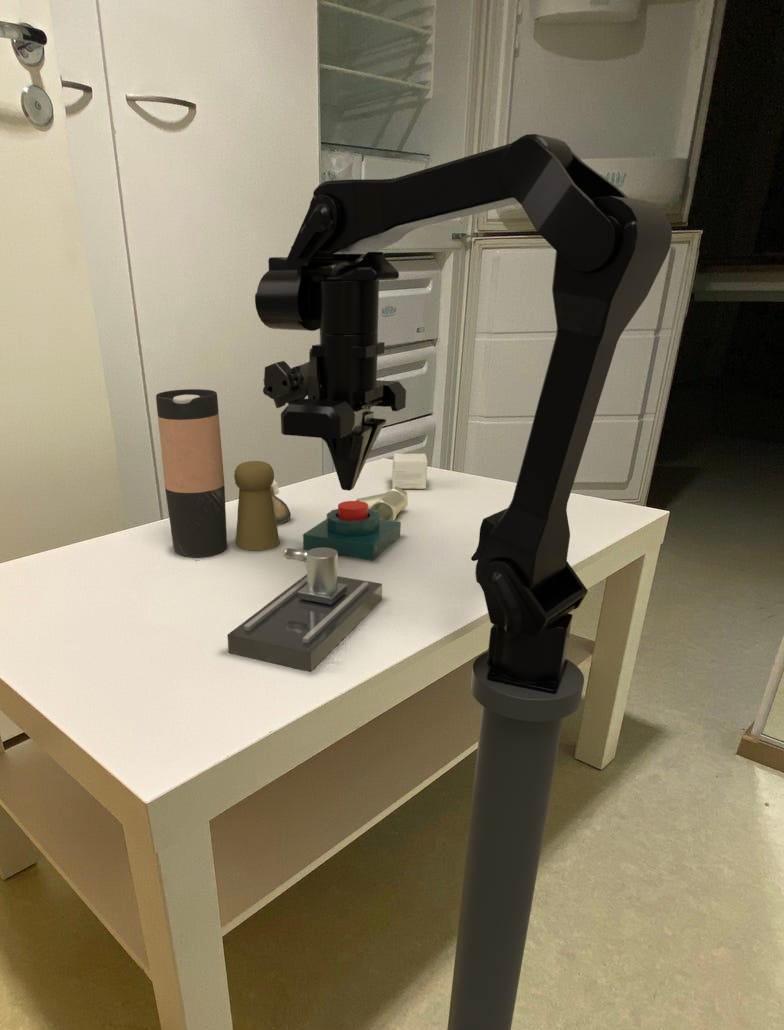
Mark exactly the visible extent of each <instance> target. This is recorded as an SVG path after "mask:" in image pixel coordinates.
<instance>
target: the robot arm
mask: <svg viewBox="0 0 784 1030" xmlns="http://www.w3.org/2000/svg"><path fill="white" fill-rule="evenodd" d="M312 195H313V196H312V198H311V200H310V203H309V206H308V210H307V212H306V214H305V216H304V219H303V221H302V223H301V225H300V228H299V230H298V232H297V235H296V237H295V239H294V242H293V244H292V245H291V247H290V250H289V252H288V255H287V256H273V257H272V256H271V257H269V258H268V259H267V260H268V261H267V262H268V271H266V272H265V273H264V274H263V275H262V277H261V278H260V280H259V283H258V285H257V291H256V293H255V294H254V304H255V309H256V312H257V316H258V318H259V319H260V321H261V323H262V324H263V325H264V326H265V327H267V328H269V329H272V330H285V331H307V332H315V331H318V330H319V343H318V344H312V345H311V348H309V353H308V355H309V359H308V360H309V361H307V362H305V363H302V364H300V365H296V366H293V367H292V368H291V367H290V365H289V364H288V363H287V362H286V361H285V360H282V361H277V362H274V363H271V364H269V365H267V366H265V367H264V375H263V376H264V378H263V388H262V392H263V394H264V395H265V396H267V397H268V398H270V399H272V400H273V403H274V406H275V408H276V409H280V408H282V407H284V409H283V410H282V411H281V413H280V433H281V434H282V435H284V436H292V437H303V438H305V437H307V438H316V439H317V438H318V439H322V440H323V441H324V442H325V444H326V445H327V449H328V452H329V454H330V457H331V460H332V462H333V463H332V464H333V465H334V470H335V473H336V475H337V479H338V483H339V486H340V488H341V490H342V491H347V492H348V491H349V492H350V491H352V490H353V489H354V488H355V486H356V484H357V482H358V480H359V479H360V475H361V473H362V471H363V468H364V467H365V464H366V462H367V460H368V458H369V456H370V454H371V451H372V449H373V447H374V445H375V443H376V441H377V439H378V437H379V435H380V432H381V431H382V429H383V427H384V426H385V425H386V423H387V419H385V418H378V417H377V418H376V417H375V412H374V411H371V408H373V407H381V408H383V407H385V408H386V407H387V408H388V407H390V408H391V411H392V412H400V411H401V410H403V409H405V408H406V403H407V390H406V388H405V387H404V386H403V384H402V383H401V382H400V381H399V380H381V379H380V380H378V356H379V355H382V354H383V355H384V354H385V342H384V341H379V304H380V303H379V299H380V281H395V280H398V279H399V277H400V272H399V271H398V270H397V268H396V267H394V266H393V265H392V263H390V262H389V261H388V259H387V258H386V256H385V254H384V252H383V251H381V250H384V249H386V248H387V247H389V246H392V245H394V244H397V243H398V242H399V241H401V240H402V239H403V238H404V237H406V235H408V234H409V233H411V232H413V231H415V230H417V229H419V228H422V227H427V226H430V225H434V224H435V225H436V224H439V223H444V222H447V221H451V220H455V219H459V218H465V217H468V216H471V215H477V214H480V213H484V212H489V211H493V210H497V209H502V208H505V207H510V206H514V205H519V204H520V205H521V207H522V209H523V210H524V212H525V214H526V215H527V218H528V219H529V220H530V222H531V224H532V226H533V227H534V230H536V232H537V233H538V234H539V235H540V236H541V237H542V238H543V239H544V240H545V241H546V242H547V243H548V244H549V245H550V246H551V247H552V248H553V249H554V250H555V257H554V264H553V265H554V266H553V275H552V285H551V293H552V301H553V308H554V315H555V322H556V332H555V338H554V342H553V346H552V348H551V353H550V357H549V361H548V365H547V368H546V371H545V375H544V380H543V383H542V387H541V391H540V394H539V398H538V402H537V406H536V409H535V413H534V417H533V421H532V423H531V428H530V431H529V435H528V439H527V442H526V446H525V450H524V454H523V457H522V462H521V466H520V469H519V473H518V477H517V481H516V485H515V489H514V492H513V496H512V499H511V500H510V501H511V502H510V503H509V505H508V506H507V508H504V509H502V510H500V511H498V512H495V513H493V514H491V515H488V516H486V517H484V518H483V519H482V521H481V524H480V527H479V536H478V544H477V547H476V549H475V552H474V553H473V554H472V556H471V557H470V561H472V562H475V561H477V562H476V564H475V573H474V575H475V582H476V583H477V584H479V586H480V588H481V590H482V592H483V596H484V601H485V604H486V605H485V606H486V608H487V614H488V618H489V621H490V622H489V623H490V624H492V626H491V628H490V631H489V641H488V649H487V652H488V658H487V664H488V666H491V668H490V670H489V672H488V674H487V679H488V680H489V681H493V682H498V683H503V684H507V685H512V686H517V687H522V688H526V689H531V690H536V691H540V692H545V693H550V694H556V693H557V691H558V689H559V686H560V683H561V681H562V678H563V675H564V673H565V670H566V667H567V663H568V662H567V660H565V658H566V659H567V651H568V645H569V639H570V634H571V628H572V627H571V626H572V620H573V614H572V613H571V612H572V611H574V610H577V609H578V608H579V607H580V606H581V604H582V603H583V601H584V599H585V598H586V597H587V594H588V592H589V591H588V588H587V587H586V585H584V583H583V581H582V580H581V579H580V577H579V576H578V574H577V573H576V571H575V570H574V569H573V567H572V566H571V565H570V563H569V561H568V552H569V548H570V547H569V546H570V539H571V531H570V524H569V519H568V512H567V511H568V510H567V508H568V503H569V499H570V496H571V493H572V490H573V487H574V483H575V480H576V478H577V477H576V476H577V473H578V470H579V468H580V464H581V462H582V461H581V460H582V457H583V454H584V451H585V447H586V444H587V442H588V438H589V435H590V432H591V428H592V425H593V423H594V420H595V415H596V413H597V410H598V409H597V408H598V406H599V403H600V400H601V396H602V394H603V390H604V387H605V383H606V380H607V377H608V374H609V371H610V367H611V364H612V361H613V358H614V355H615V351H616V348H617V344H618V342H619V339H620V337H621V335H622V334H623V333H624V331H625V329H626V328H627V327H628V325H629V324H630V322H631V321H632V319H633V318H634V316H635V315H636V313H637V312H638V310H639V309H640V308H641V306H642V305H643V304H644V302H645V300H646V299H647V297H648V295H649V293H650V291H651V290H652V287H653V285H654V283H655V281H656V279H657V277H658V275H659V273H660V272H661V269H662V267H663V265H664V263H665V261H666V258H667V256H668V255H669V252H670V248H671V244H672V238H673V232H672V231H673V230H672V224H670V222H669V219H668V217H667V216H666V214H665V212H664V210H663V209H661V208H660V207H659V205H657V204H656V203H654V202H652V201H648V200H645V199H639V198H630V197H628V196H627V195H626V194H625V192H623V191H622V190H621V189H620V188H619V187H618V186H617V185H615V184H614V183H612V182H611V181H610V180H609V179H607V178H605V177H604V176H603V175H602V174H600V173H599V172H598V171H596V170H595V169H593V168H592V167H591V166H589V165H588V164H586V163H585V162H584V161H583V160H582V159H581V158H580V157H579V156H578V155H577V154H576V153H575V152H574V151H572V149H571V148H570V146H569V145H568V144H567V143H566V142H565V141H563V140H561V139H559V138H556V137H551V136H546V135H543V134H542V135H541V134H537V133H531V134H530V133H529V134H524V135H522V136H520V137H519V138H517V139H516V140H513V141H512V142H511V143H507V144H504V145H501V146H498V147H494V148H491V149H486V150H484V151H481V152H477V153H475V154H474V153H473V154H471V155H468V156H467V155H466V156H464V157H461V158H457V159H454V160H451V161H448V162H444V163H441V164H438V165H435V166H432V167H431V166H430V167H427V168H425V169H421V170H418V171H414V172H411V173H408V174H405V175H402V176H398V177H395V178H383V179H379V178H376V179H375V178H373V179H370V178H368V179H367V178H366V179H364V178H363V179H361V178H359V179H357V178H356V179H354V178H353V179H337V180H335V179H333V180H326V181H323V182H321V183H320V184H318V185H317V186H316V187H315V189H314V190H313V192H312ZM306 397H307V398H306ZM286 404H288V405H286ZM285 406H286V407H285Z"/></svg>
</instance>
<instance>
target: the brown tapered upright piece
mask: <svg viewBox="0 0 784 1030" xmlns="http://www.w3.org/2000/svg"><path fill="white" fill-rule="evenodd" d="M233 477H234V483H235V482H236V484H237V485H236V484H235V485H236V486H238V487H239V488H238V487H237V488H238V502H237V519H236V530H235V531H236V532H235V546H236V547H237V548H238V549H241V550H245V551H266V550H271V549H273V548H275V547H278V545H280V542H281V541H280V536H279V530H278V525H277V524H276V518H275V512H274V506H273V500H272V495H271V489H270V487H271V485H272V483H273V480H275V471H274V468H273V467H272V465H271V464H270V463H268V462H266V461H261V460H249V461H244V462H241V463H239V464H237V466H236V468H235V470H234V473H233Z"/></svg>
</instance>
